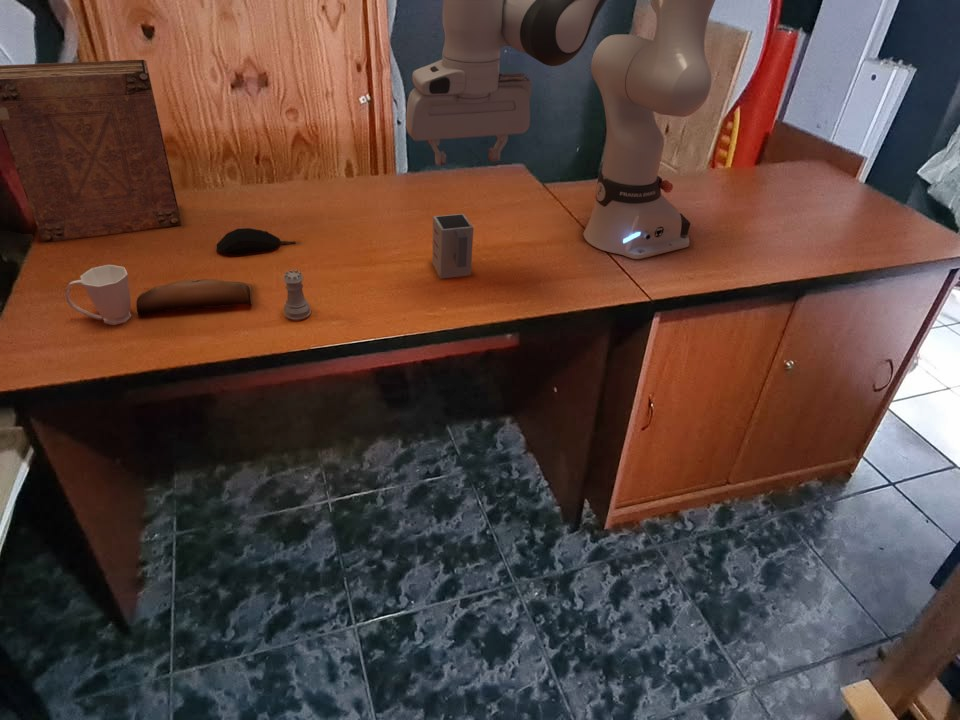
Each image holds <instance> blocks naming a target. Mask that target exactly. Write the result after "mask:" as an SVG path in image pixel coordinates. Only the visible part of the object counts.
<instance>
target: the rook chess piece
mask: <svg viewBox="0 0 960 720" xmlns="http://www.w3.org/2000/svg"><path fill="white" fill-rule="evenodd" d="M282 280H283V282H284V283H285V284H286V285H285V289H286V291H287V297H286V298H287V299H286V301H285V304H284V306H283V310H284V313H283V314H284V316H285V317H286V318H287V319H288V320H291V321H302V320H305V319H307V318H308V317H309V316H310V315H311V312H312V309H311V305H310V303H309V302H308V301H307V299H306V298H305V295H304V291H303V288H304V285H303V283H302V282H303V281H304V275H302V273H301V271H299V270H298V269H294V271H293V269H289V271H287V270H286V271H285V273H284V276H283V278H282Z"/></svg>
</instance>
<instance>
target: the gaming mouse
mask: <svg viewBox="0 0 960 720" xmlns="http://www.w3.org/2000/svg"><path fill="white" fill-rule="evenodd" d="M296 243H297V242H296V241H287V240H281V239H280V238H279V237H278V236H276V235H274V234H272V233H270V232H269V231H267V230H262V229H256V228H251V227H243V228H236V229H234V230H231V231H229V232H226V233H225V234H224V236H222V238H221V239H220V240H219V241H218V242H217V243H216V250H217V251H219V252H220V253H222V254H224V255H227V256H236V257H240V256H248V255H254V254H261V253H263V254H264V253H268V252H273V251H275V250H277V249H278V248H279V247H280V245H287V244H296Z"/></svg>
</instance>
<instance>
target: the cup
mask: <svg viewBox="0 0 960 720" xmlns="http://www.w3.org/2000/svg"><path fill="white" fill-rule="evenodd" d="M72 286H80V287H81V286H82V287H83V288H84V290H85V291H86V293H87V295H88V297H89V299H90V301H91V302H92V304H93V306H94V308H95V310H96V311H97V312H98V314H96V313H93V312H91V311H88V310H86V309H84V308H81V307H79V305H77V304H75V303H74V301H72V299H71V296H70V289H71V287H72ZM65 299H66V302H67V304H68V305H69V306H70V307H71V308H72V310H74V311H76V312H77V313H80V314H82V315H84V316H87V317H90V318H92V319H95V320H103V322H104V324H107V325H111V326H115V325H120V324H124V323H126V322H127V321H128V320H130V319H131V318H132V314H131V292H130V281H129V274H128V271H127V269H126V268H125V266H121V265H116V264H104V265H100V266H94V267H91V268H90V269H88V270H86V271H84V272H83V273H82V274H81V275H80V276H79V279H75V280H72V281H70V282H69V283H68V285H67V287H66V288H65Z"/></svg>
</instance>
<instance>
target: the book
mask: <svg viewBox="0 0 960 720" xmlns="http://www.w3.org/2000/svg"><path fill="white" fill-rule="evenodd" d="M158 113H159V112H158V108H157V104H156V99H155V95H154V90H153V85H152V82H151V76H150V72H149V67H148V62H147V60H144V59H129V60H128V59H127V60H125V59H124V60H103V61H100V60H99V61H78V62H77V61H76V62H74V61H73V62H72V61H71V62H51V63H50V62H49V63H24V64H23V63H22V64H0V128H1V131H2V134H3V137H4V139H5V142H6V145H7V147H8V150H9V153H10V156H11V159H12V162H13V164H14V167H15V169H16V173H17V175H18V178H19V180H20V183H21V186H22V189H23V191H24V192H23V193H24V195H25V197H26V200H27V202H28V205H29V208H30V211H31V214H32V216H33V219H34V222H35V224H36V228H37V231H38V233H39V235H40V238H41V241H42V242H43V243H51V242H58V241H59V242H60V241H67V240H76V239H84V238H91V237H92V238H93V237H100V236H107V235H115V234H123V233H131V232H132V233H133V232H139V231H147V230H155V229H163V228H170V227H178V226H179V227H180V226H182V221H181V215H180V209H179V205H178V200H177V195H176V191H175V187H174V182H173V178H172V173H171V168H170V164H169V158H168V155H167V150H166V145H165V141H164V136H163V132H162V127H161V122H160V118H159V114H158Z"/></svg>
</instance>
